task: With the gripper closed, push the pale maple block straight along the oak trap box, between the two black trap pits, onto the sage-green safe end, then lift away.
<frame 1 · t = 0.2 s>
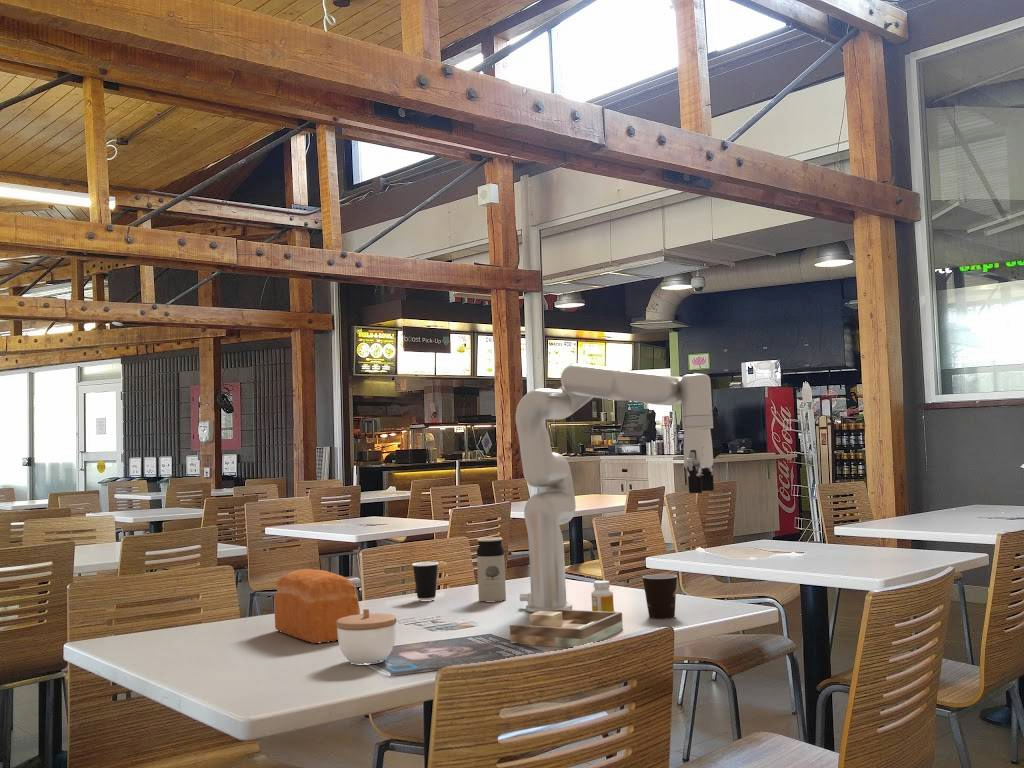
hand: (701, 491, 232), 31 cm above the table, tool pointing down, fingers open, 9 cm apart
coffee mug: (664, 616, 236), on the table
trap box: (567, 636, 215), on the table
lidded bowl: (367, 663, 197), on the table
bread: (316, 635, 231), on the table
maple block: (546, 626, 218), point 2 cm above the table, touching trap box
dixie cup: (426, 601, 278), on the table
supplement bottle: (603, 621, 232), on the table
travel mug: (492, 601, 272), on the table
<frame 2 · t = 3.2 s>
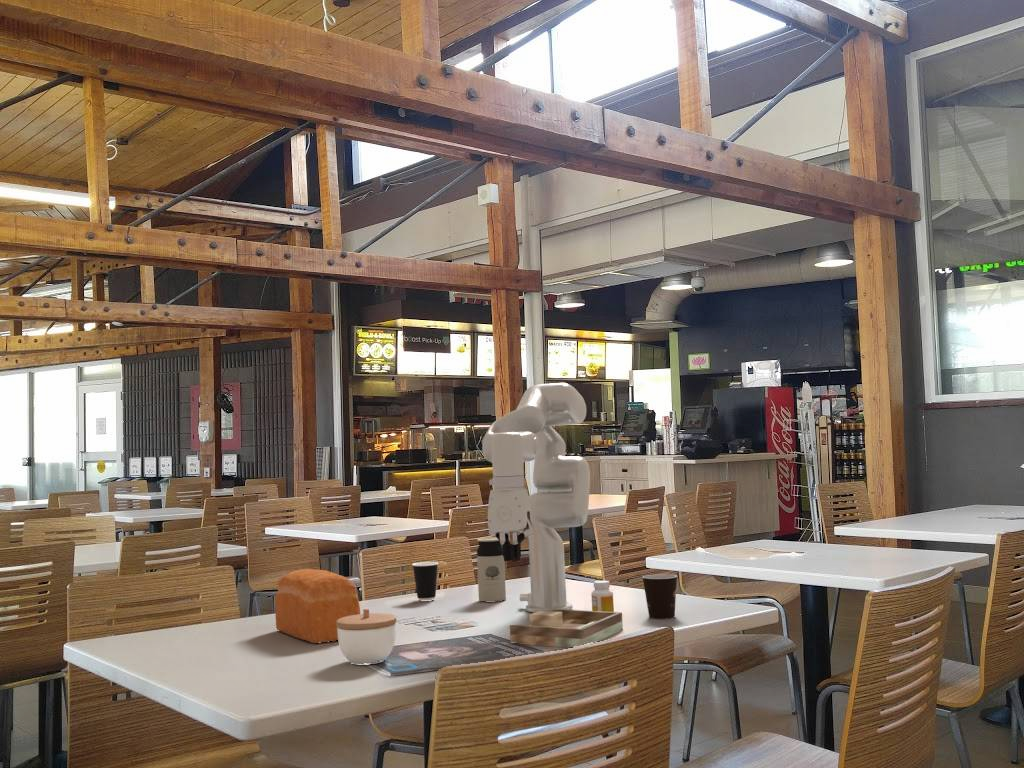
hand: (512, 560, 223), 17 cm above the table, tool pointing down, fingers closed
nothing on the table moved.
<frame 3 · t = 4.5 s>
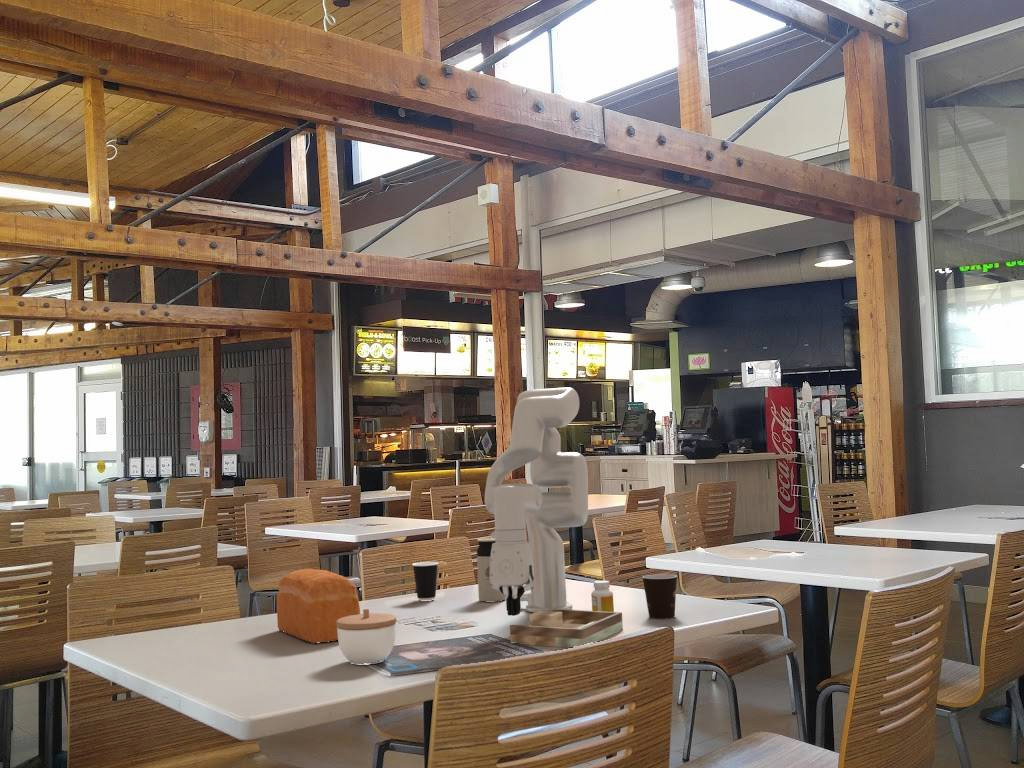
hand: (513, 614, 221), 4 cm above the table, tool pointing down, fingers closed
nothing on the table moved.
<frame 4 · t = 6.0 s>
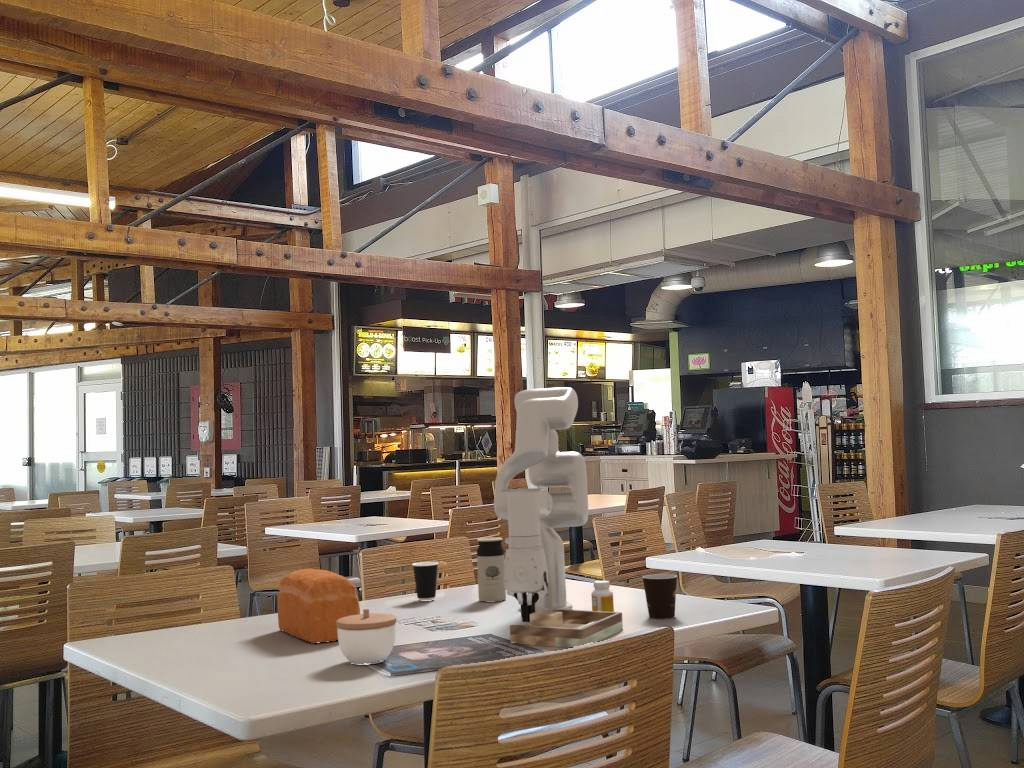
hand: (528, 621, 220), 3 cm above the table, tool pointing down, fingers closed
maple block: (546, 626, 218), point 2 cm above the table, touching gripper, trap box
everything else where it was.
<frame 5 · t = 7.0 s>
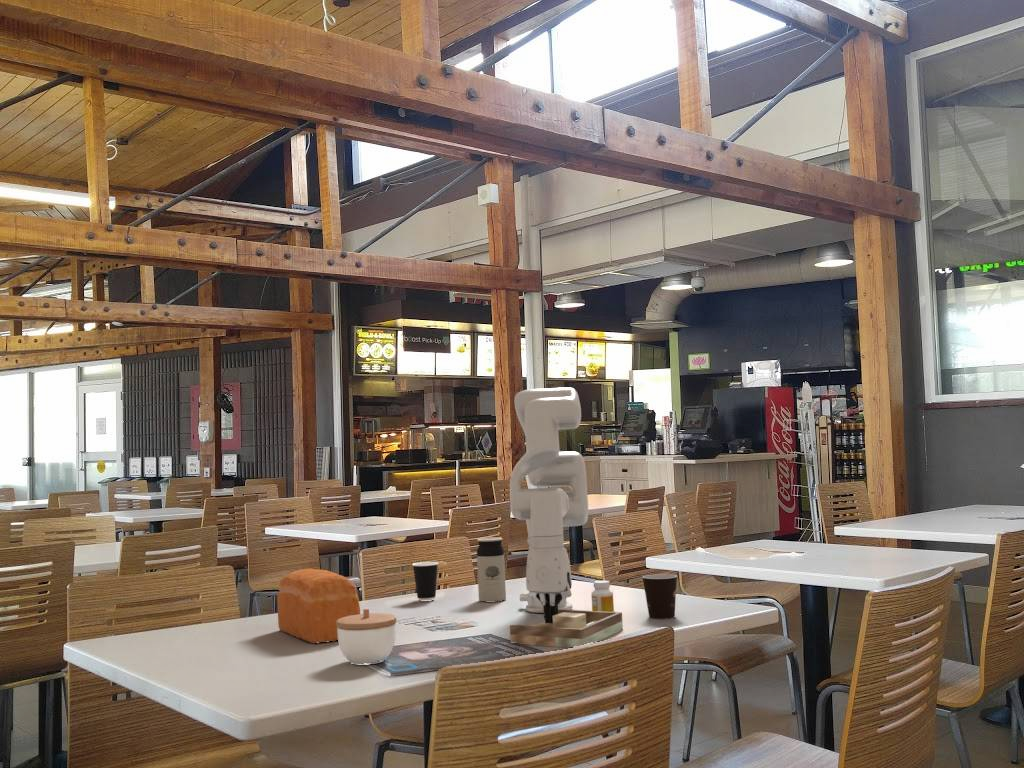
hand: (551, 622, 217), 3 cm above the table, tool pointing down, fingers closed
maple block: (569, 627, 214), point 2 cm above the table, touching gripper, trap box
everything else where it was.
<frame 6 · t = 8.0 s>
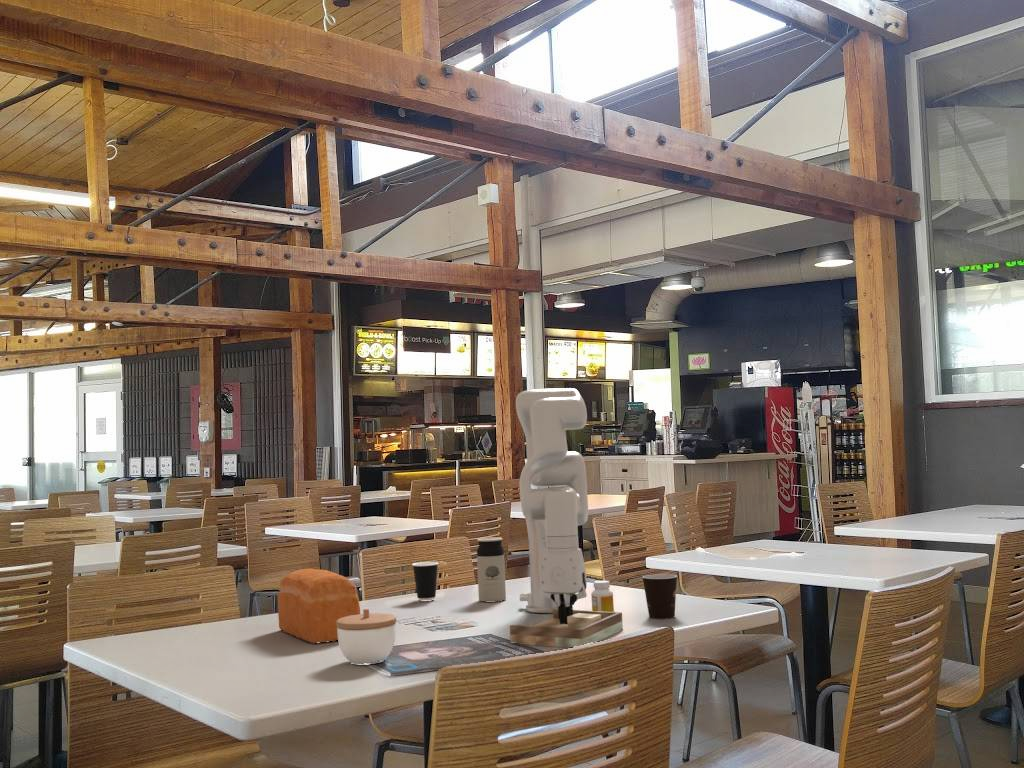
hand: (566, 623, 215), 3 cm above the table, tool pointing down, fingers closed
maple block: (584, 628, 212), point 2 cm above the table, touching gripper, trap box
everything else where it was.
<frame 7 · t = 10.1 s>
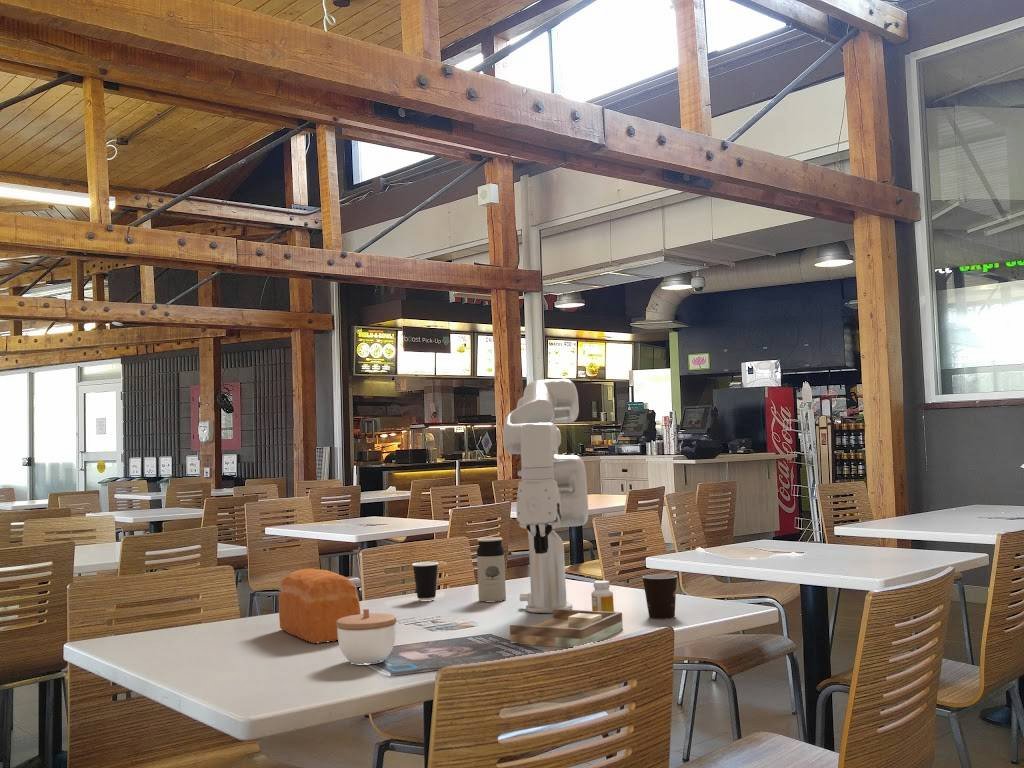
hand: (541, 552, 220), 19 cm above the table, tool pointing down, fingers closed
maple block: (585, 629, 212), point 2 cm above the table, touching trap box
everything else where it was.
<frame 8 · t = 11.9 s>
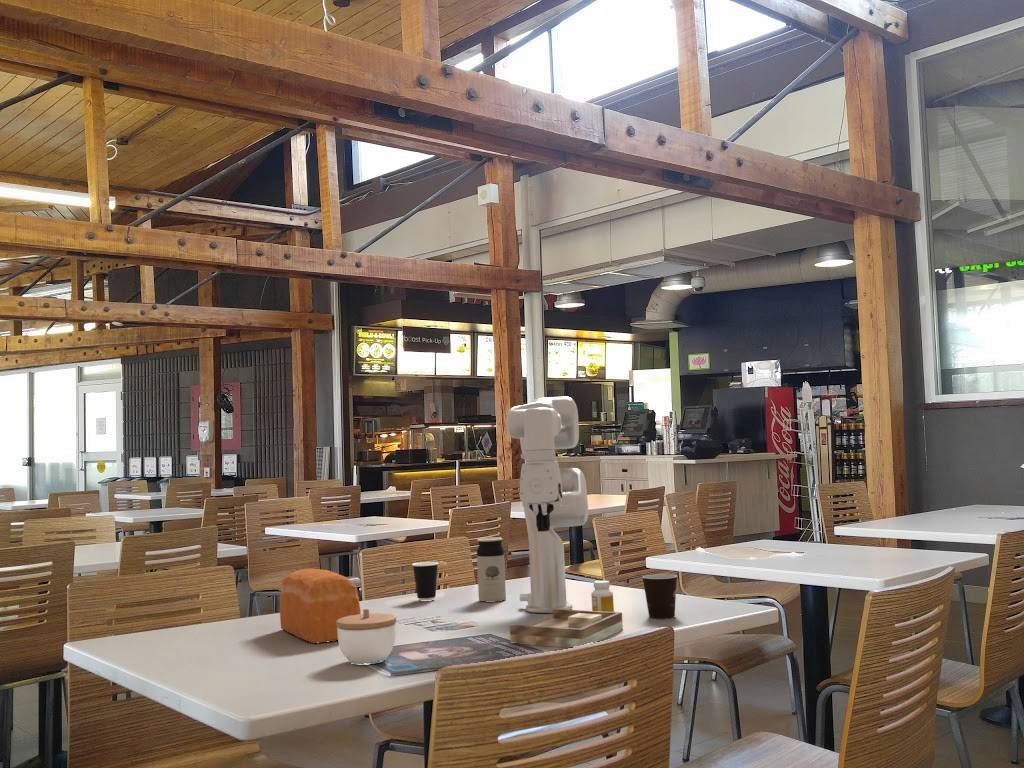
hand: (543, 530, 231), 23 cm above the table, tool pointing down, fingers closed
nothing on the table moved.
at the end: maple block 0.9 cm from the target spot on the trap box, point 2.0 cm above the trap box's base; maple block tilted 0°; the gripper is holding nothing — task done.
